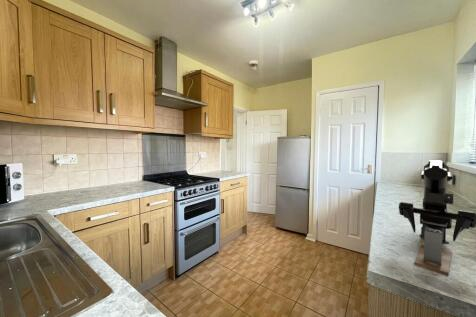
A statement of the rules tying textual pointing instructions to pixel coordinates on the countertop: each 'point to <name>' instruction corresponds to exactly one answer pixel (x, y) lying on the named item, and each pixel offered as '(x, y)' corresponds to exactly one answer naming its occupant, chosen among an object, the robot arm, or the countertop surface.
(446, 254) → the mounting board
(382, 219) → the countertop surface
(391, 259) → the countertop surface
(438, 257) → the block
